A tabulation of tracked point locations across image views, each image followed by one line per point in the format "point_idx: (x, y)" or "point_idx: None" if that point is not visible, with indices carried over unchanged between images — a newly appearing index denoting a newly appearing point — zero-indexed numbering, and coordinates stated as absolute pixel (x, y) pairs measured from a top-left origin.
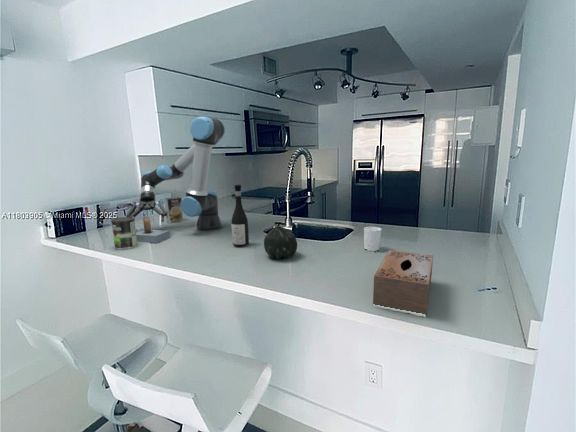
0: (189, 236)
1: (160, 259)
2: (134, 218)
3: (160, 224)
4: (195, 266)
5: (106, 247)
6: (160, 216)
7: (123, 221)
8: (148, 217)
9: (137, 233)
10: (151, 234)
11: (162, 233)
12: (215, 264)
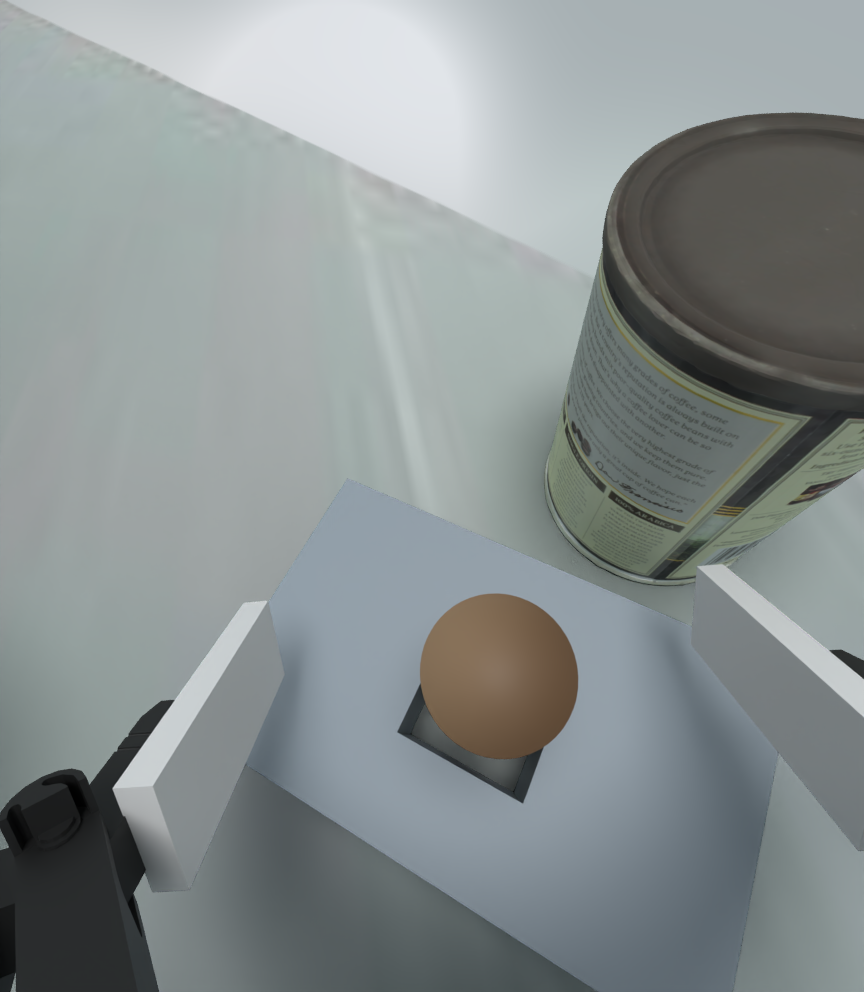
0: (8, 724)
1: (306, 197)
2: (614, 259)
3: (248, 608)
4: (150, 118)
5: (851, 499)
6: (157, 746)
7: (706, 127)
8: (453, 708)
9: (632, 677)
10: (412, 563)
11: (280, 585)
12: (64, 126)
